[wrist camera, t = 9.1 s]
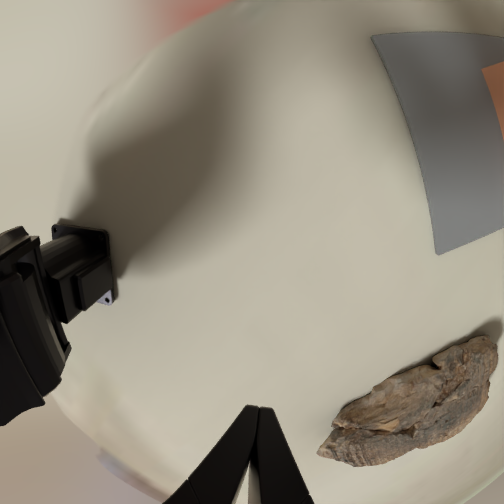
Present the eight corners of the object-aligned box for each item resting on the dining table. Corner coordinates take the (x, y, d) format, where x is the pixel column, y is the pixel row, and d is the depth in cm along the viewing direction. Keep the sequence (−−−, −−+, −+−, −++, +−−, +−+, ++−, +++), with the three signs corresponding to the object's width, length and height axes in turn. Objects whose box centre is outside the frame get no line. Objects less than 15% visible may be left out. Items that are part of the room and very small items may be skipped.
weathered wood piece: (330, 457, 27) (474, 404, 22) (330, 488, 22) (487, 430, 17) (299, 394, 24) (486, 321, 19) (297, 434, 19) (511, 349, 14)
